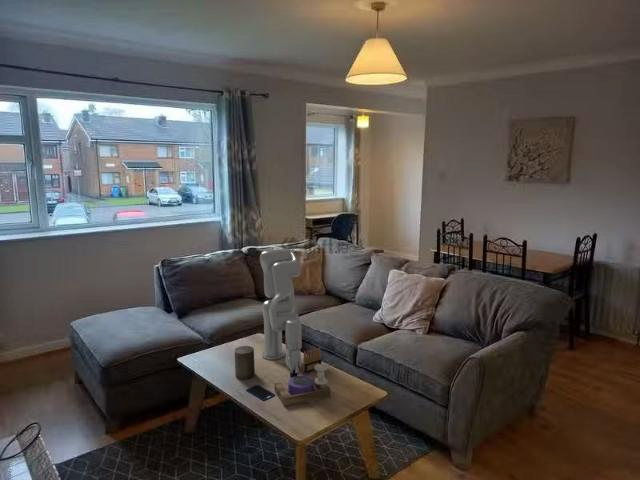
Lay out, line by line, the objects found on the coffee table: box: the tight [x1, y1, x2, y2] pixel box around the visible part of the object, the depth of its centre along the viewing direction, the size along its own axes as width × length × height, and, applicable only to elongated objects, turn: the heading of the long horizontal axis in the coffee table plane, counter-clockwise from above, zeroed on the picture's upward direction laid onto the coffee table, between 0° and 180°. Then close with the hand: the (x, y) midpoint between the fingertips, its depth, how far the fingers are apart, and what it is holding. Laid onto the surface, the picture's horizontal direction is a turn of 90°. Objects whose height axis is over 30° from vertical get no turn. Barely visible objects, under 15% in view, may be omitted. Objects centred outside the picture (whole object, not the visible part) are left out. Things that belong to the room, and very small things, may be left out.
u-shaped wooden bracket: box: [274, 375, 331, 408], centre depth 213 cm, size 14×22×4 cm, turn 112°
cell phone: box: [245, 384, 276, 402], centre depth 215 cm, size 7×14×1 cm, turn 45°
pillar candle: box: [233, 345, 256, 380], centre depth 231 cm, size 10×10×15 cm
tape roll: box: [287, 375, 314, 396], centre depth 216 cm, size 12×12×5 cm
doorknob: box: [314, 363, 328, 385], centre depth 216 cm, size 6×6×8 cm
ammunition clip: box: [302, 346, 322, 375], centre depth 236 cm, size 11×2×12 cm, turn 125°
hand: (293, 380), depth 224 cm, fingers closed
